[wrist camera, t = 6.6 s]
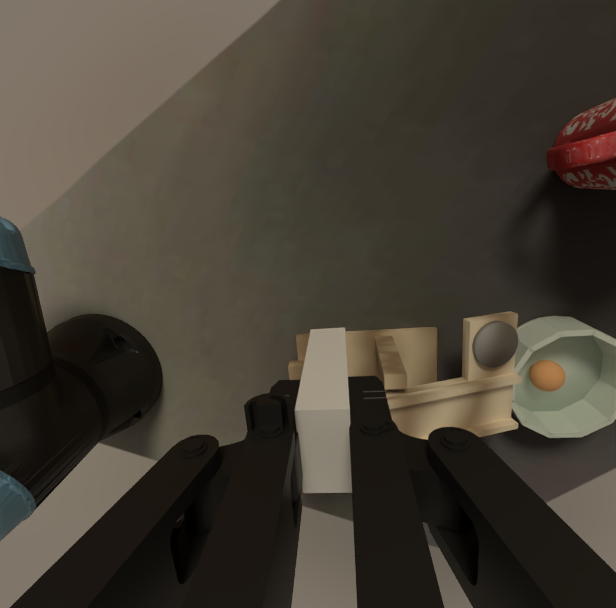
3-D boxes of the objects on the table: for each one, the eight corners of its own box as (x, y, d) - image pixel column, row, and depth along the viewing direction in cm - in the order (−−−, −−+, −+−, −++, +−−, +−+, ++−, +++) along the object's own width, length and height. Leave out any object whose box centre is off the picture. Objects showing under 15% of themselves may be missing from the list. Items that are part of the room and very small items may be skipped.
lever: (271, 451, 38) (280, 494, 32) (257, 339, 35) (264, 365, 29) (484, 406, 42) (525, 437, 36) (489, 303, 39) (534, 320, 33)
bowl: (489, 414, 46) (506, 439, 41) (493, 318, 42) (512, 333, 38) (597, 411, 44) (626, 436, 40) (610, 312, 41) (644, 327, 37)
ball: (555, 382, 43) (523, 382, 44) (558, 355, 42) (525, 354, 43) (569, 397, 40) (534, 397, 40) (573, 368, 39) (536, 368, 40)
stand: (296, 416, 48) (285, 475, 38) (288, 334, 45) (273, 375, 35) (434, 411, 46) (462, 472, 36) (435, 326, 43) (465, 366, 33)
